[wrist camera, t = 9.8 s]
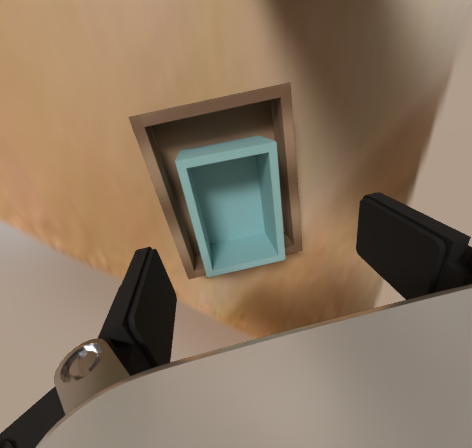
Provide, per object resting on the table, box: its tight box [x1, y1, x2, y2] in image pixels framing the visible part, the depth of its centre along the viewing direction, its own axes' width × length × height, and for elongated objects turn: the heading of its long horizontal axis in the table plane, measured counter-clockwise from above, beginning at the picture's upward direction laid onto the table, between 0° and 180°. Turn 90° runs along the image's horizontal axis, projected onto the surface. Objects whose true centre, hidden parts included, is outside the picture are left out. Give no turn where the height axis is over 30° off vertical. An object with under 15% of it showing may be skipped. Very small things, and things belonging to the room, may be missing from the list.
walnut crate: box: [129, 83, 302, 279], centre depth 21 cm, size 15×12×4 cm
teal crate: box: [175, 135, 285, 278], centre depth 20 cm, size 10×7×5 cm
